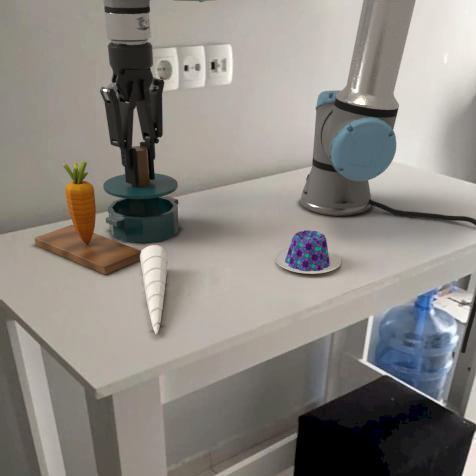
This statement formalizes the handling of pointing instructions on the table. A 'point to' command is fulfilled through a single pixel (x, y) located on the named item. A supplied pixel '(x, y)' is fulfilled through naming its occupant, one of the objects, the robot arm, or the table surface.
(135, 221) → the pot
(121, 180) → the lid
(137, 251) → the board
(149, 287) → the unicorn horn
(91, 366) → the table surface
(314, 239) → the pudding
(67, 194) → the carrot
